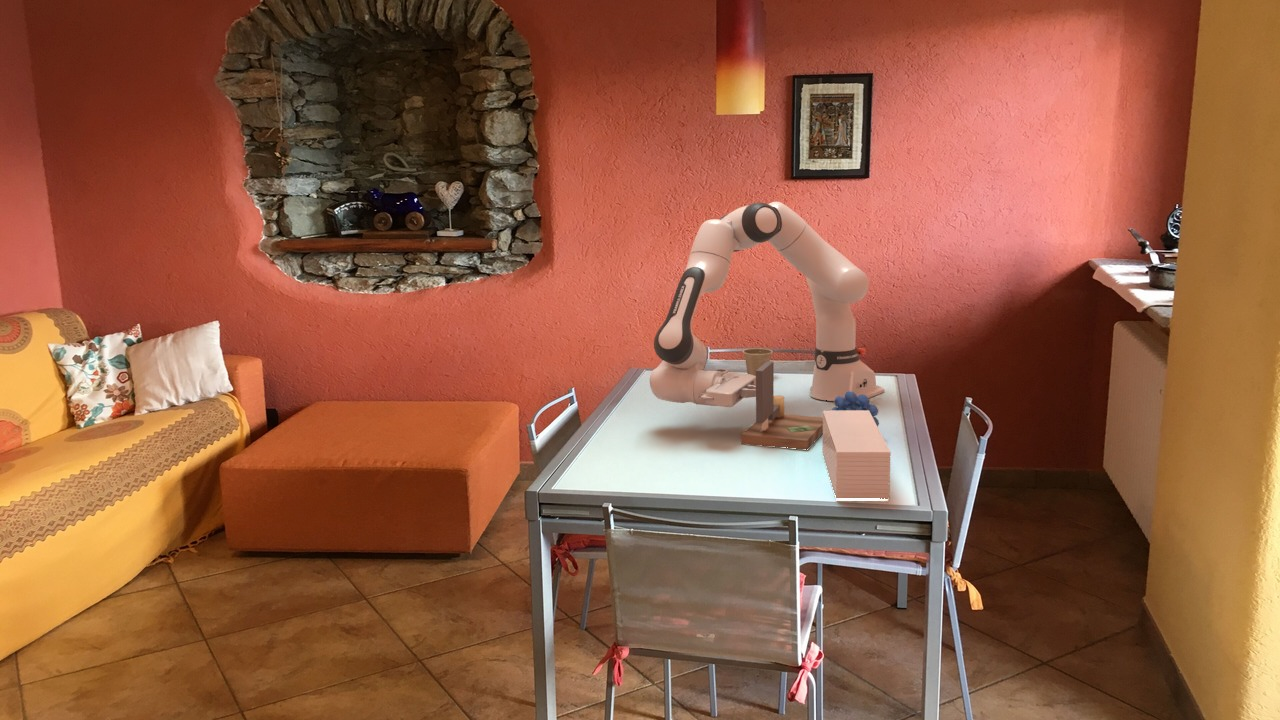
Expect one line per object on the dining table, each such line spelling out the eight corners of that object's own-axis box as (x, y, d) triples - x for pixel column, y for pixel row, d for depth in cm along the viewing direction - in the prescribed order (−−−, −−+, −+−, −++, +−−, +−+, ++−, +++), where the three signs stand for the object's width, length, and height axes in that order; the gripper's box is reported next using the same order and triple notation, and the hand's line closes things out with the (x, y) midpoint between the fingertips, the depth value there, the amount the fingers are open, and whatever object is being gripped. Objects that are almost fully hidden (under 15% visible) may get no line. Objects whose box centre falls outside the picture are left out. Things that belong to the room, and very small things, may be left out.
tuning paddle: (773, 413, 253) (773, 353, 249) (785, 414, 252) (785, 353, 248) (752, 435, 234) (752, 370, 231) (765, 436, 233) (765, 371, 230)
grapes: (832, 443, 236) (832, 395, 233) (830, 435, 242) (830, 388, 240) (880, 443, 234) (881, 395, 232) (877, 435, 241) (878, 388, 238)
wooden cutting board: (766, 421, 256) (766, 411, 255) (828, 427, 249) (828, 417, 248) (741, 443, 237) (741, 433, 236) (806, 450, 230) (807, 439, 230)
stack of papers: (889, 502, 196) (890, 452, 194) (835, 502, 197) (836, 452, 195) (868, 454, 227) (869, 410, 225) (822, 454, 228) (822, 410, 226)
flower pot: (778, 376, 305) (778, 350, 304) (761, 382, 299) (761, 355, 297) (754, 373, 312) (753, 347, 310) (736, 378, 305) (736, 352, 303)
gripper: (695, 385, 234) (749, 390, 229) (724, 367, 252) (775, 371, 247) (695, 410, 236) (749, 415, 230) (724, 391, 254) (775, 395, 248)
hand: (763, 392), depth 238 cm, fingers closed
